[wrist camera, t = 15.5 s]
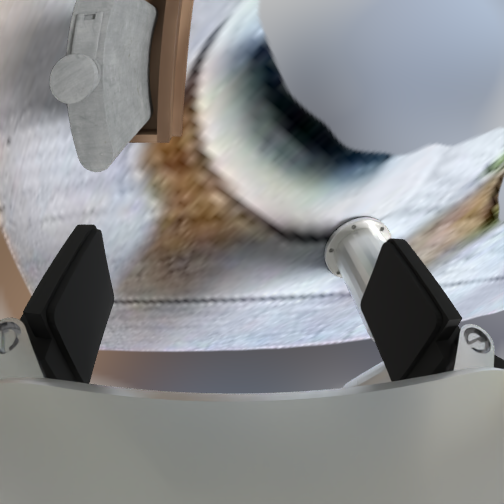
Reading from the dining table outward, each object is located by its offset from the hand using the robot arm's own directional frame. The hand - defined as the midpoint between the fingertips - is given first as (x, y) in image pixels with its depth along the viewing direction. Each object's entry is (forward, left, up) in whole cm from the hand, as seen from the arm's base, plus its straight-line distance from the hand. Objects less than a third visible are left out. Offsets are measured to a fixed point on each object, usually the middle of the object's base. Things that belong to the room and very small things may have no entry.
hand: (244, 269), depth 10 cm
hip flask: (+11, -5, -33) cm, 35 cm away
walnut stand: (+11, -5, -34) cm, 36 cm away
